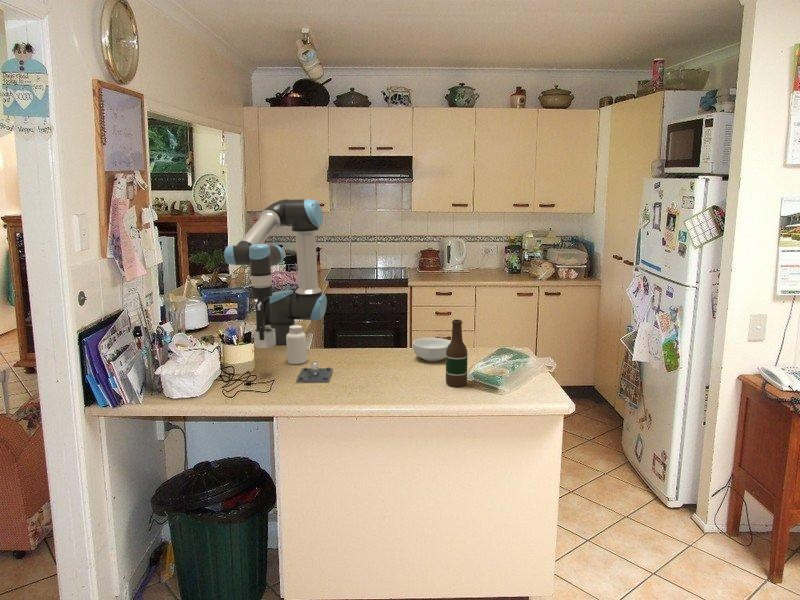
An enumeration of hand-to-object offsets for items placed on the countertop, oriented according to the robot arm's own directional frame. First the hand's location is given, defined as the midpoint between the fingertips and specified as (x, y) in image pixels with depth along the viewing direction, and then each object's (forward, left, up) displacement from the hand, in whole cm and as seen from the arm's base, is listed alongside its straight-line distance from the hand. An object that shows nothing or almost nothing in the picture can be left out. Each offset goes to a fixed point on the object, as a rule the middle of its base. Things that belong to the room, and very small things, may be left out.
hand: (265, 344), depth 242 cm
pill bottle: (-17, +9, -12) cm, 23 cm away
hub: (0, 0, 0) cm, 0 cm away
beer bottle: (+12, +72, -12) cm, 74 cm away
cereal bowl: (-20, +65, -12) cm, 69 cm away
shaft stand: (+2, +19, -12) cm, 23 cm away
